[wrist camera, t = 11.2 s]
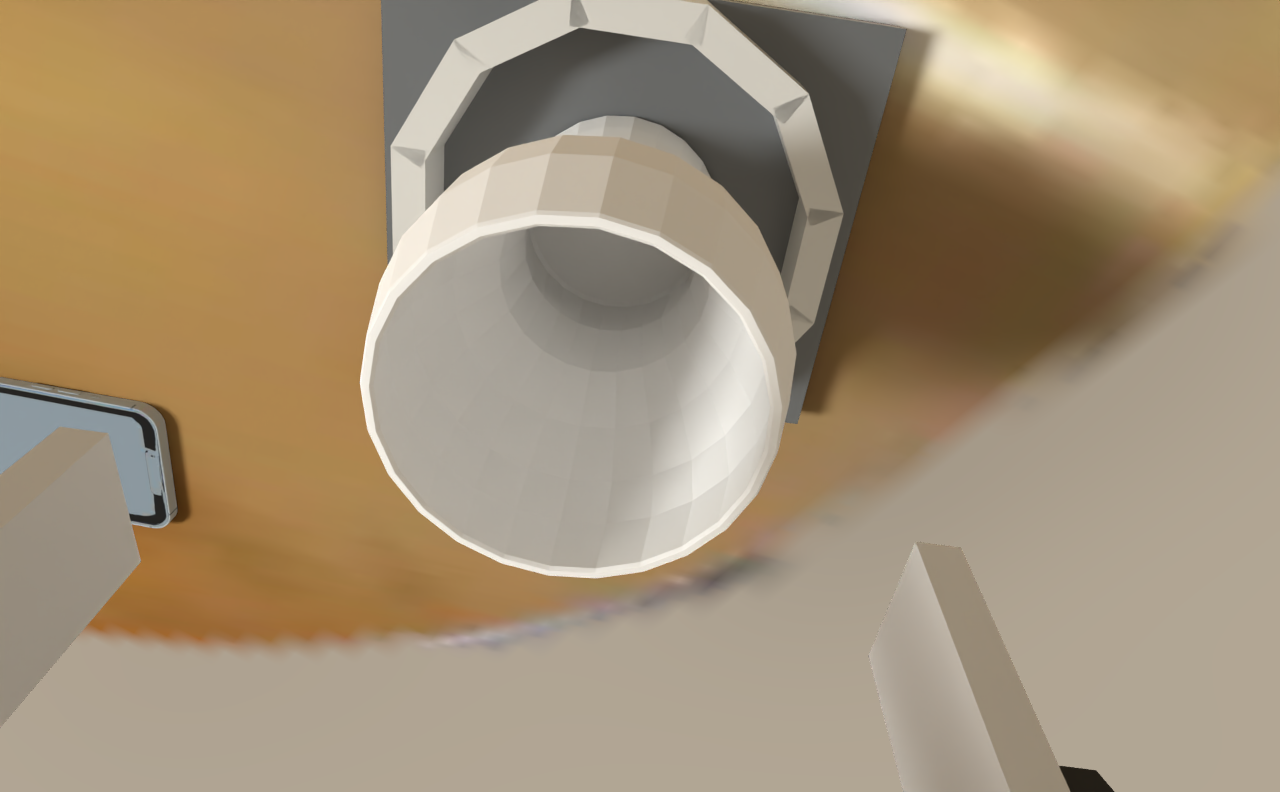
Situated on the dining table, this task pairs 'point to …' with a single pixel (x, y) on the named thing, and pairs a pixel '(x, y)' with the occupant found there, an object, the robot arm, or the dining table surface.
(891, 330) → the dining table surface
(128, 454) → the smartphone
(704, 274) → the cup
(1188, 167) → the dining table surface
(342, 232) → the dining table surface
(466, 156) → the holder tray
